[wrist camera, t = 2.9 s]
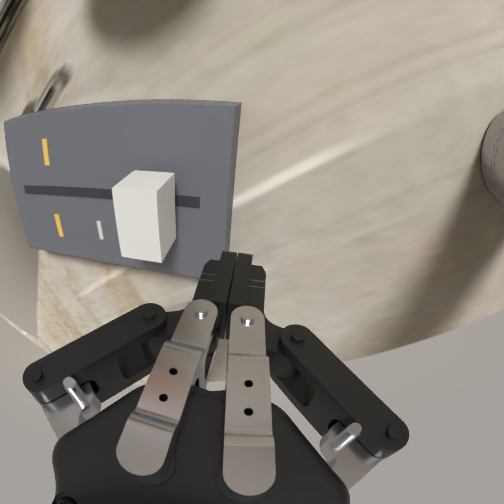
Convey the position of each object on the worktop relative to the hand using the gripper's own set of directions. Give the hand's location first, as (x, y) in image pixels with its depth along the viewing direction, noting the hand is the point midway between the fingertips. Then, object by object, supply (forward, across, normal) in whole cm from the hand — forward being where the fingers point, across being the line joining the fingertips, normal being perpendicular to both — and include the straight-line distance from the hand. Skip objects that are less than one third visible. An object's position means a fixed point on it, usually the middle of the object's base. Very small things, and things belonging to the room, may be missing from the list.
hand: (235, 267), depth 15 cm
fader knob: (+7, +6, 0) cm, 9 cm away
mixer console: (+10, +12, 0) cm, 16 cm away
